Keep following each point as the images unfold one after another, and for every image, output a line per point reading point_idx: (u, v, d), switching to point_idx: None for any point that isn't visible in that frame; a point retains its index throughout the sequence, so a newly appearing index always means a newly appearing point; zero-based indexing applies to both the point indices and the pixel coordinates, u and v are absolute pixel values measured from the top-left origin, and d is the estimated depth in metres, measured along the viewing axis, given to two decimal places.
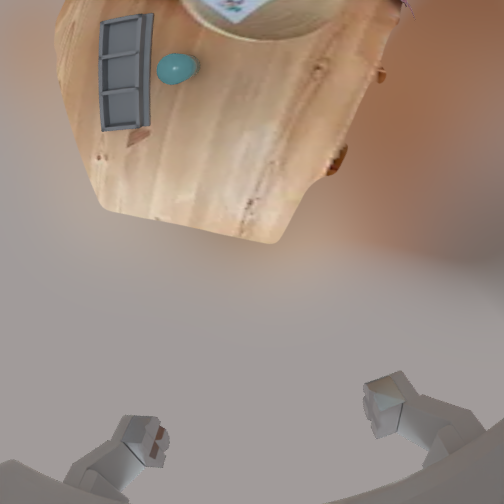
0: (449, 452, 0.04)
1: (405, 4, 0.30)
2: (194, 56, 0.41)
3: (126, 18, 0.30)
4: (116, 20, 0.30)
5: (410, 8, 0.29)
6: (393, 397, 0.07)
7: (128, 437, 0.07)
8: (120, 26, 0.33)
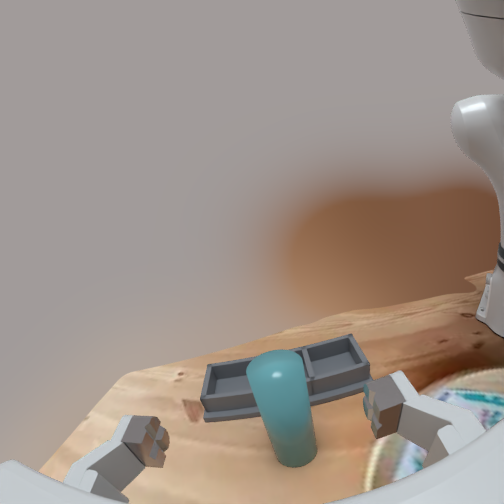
0: (449, 452, 0.04)
1: None
2: (315, 454, 0.24)
3: (359, 353, 0.36)
4: (355, 345, 0.38)
5: None
6: (393, 397, 0.07)
7: (128, 437, 0.07)
8: (349, 361, 0.39)
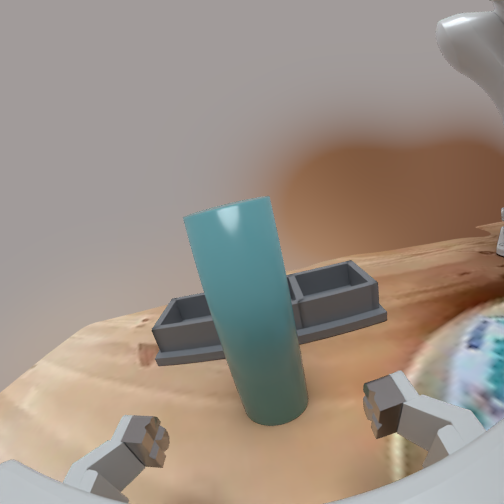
0: (449, 452, 0.04)
1: None
2: (305, 404, 0.17)
3: (362, 274, 0.29)
4: (356, 269, 0.31)
5: None
6: (393, 397, 0.07)
7: (128, 437, 0.07)
8: None
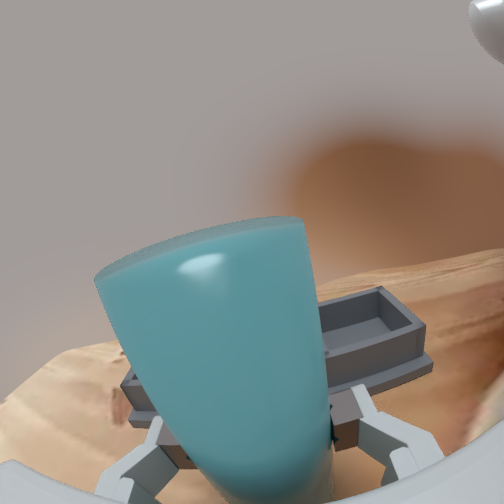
0: (399, 477, 0.04)
1: None
2: None
3: (402, 310, 0.20)
4: (392, 300, 0.22)
5: None
6: (350, 412, 0.07)
7: (163, 439, 0.07)
8: (381, 330, 0.23)
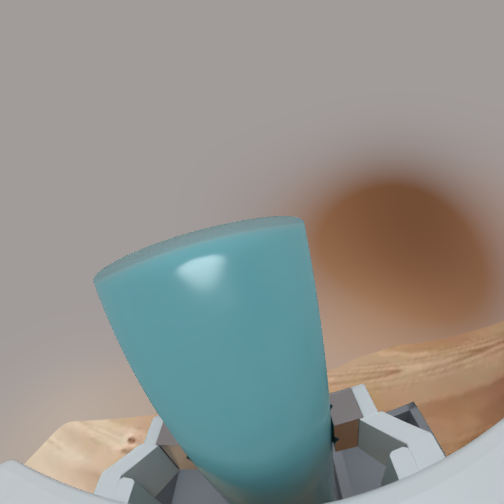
0: (399, 477, 0.04)
1: None
2: None
3: None
4: (423, 428, 0.15)
5: None
6: (350, 412, 0.07)
7: (164, 439, 0.07)
8: None
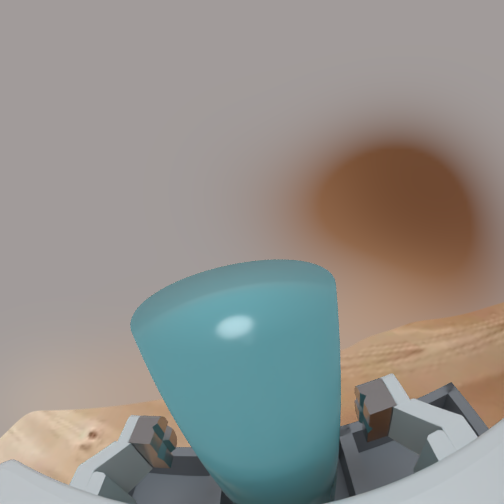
0: (438, 458, 0.04)
1: None
2: None
3: None
4: (469, 416, 0.10)
5: None
6: (384, 401, 0.07)
7: (135, 438, 0.07)
8: None
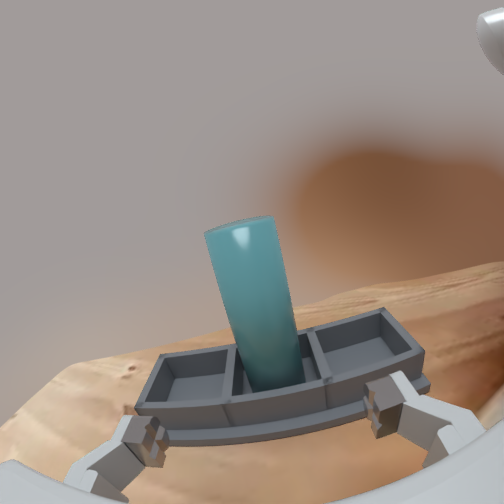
0: (449, 452, 0.04)
1: None
2: None
3: (403, 334, 0.20)
4: (393, 324, 0.22)
5: None
6: (393, 397, 0.07)
7: (128, 437, 0.07)
8: (382, 351, 0.23)
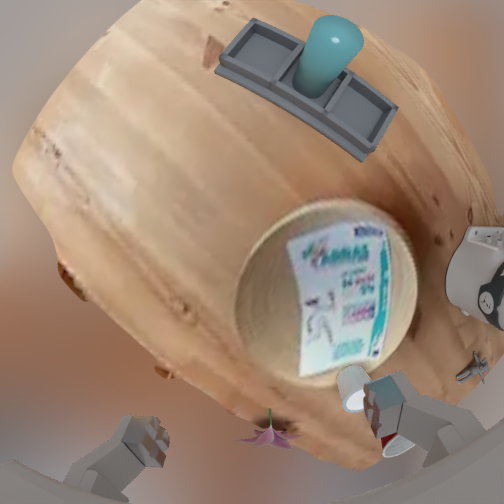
0: (449, 452, 0.04)
1: (257, 432, 0.47)
2: (318, 96, 0.32)
3: (380, 132, 0.31)
4: (386, 121, 0.31)
5: (251, 441, 0.43)
6: (393, 397, 0.07)
7: (128, 437, 0.07)
8: (372, 120, 0.33)
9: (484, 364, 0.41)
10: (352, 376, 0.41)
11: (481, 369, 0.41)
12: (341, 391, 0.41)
